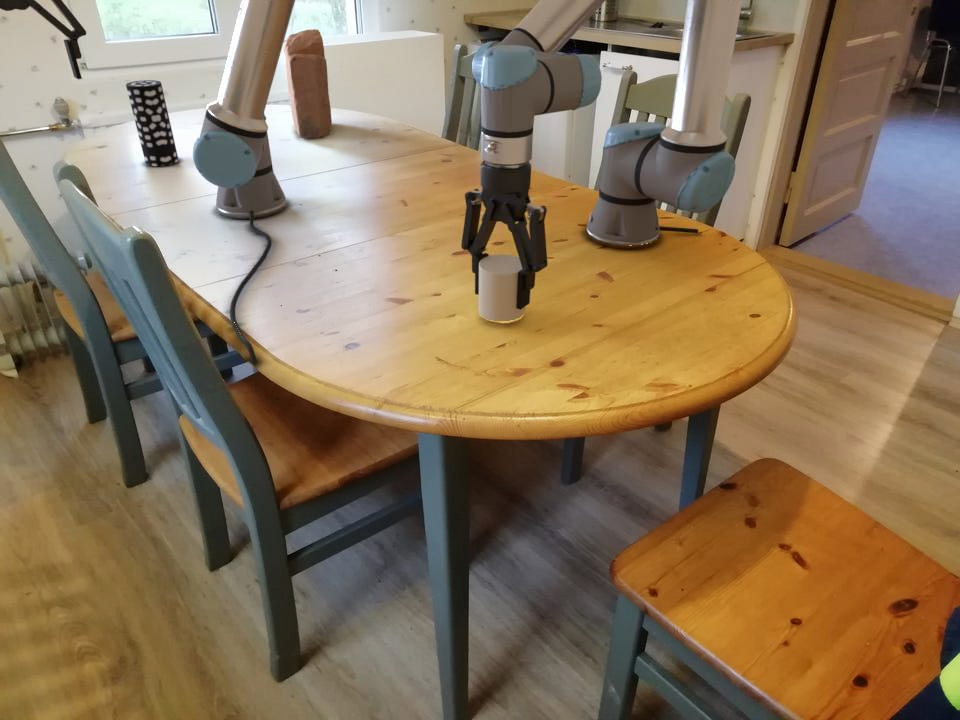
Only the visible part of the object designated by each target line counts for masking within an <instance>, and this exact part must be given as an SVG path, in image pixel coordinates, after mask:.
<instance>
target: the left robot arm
mask: <svg viewBox="0 0 960 720" xmlns="http://www.w3.org/2000/svg"><path fill="white" fill-rule="evenodd" d="M50 1H51V3H53V5H54V6H55V8H57V10H58V11H59V12H60V14H61V15H62V16H63V17H64V19H65V20H66V21H67V23H69V25H70V26H71V27H72V29H73V30H71V29H70V28H69V27H67V26H66V25H65V24H63V23H62V22H61V21H60V20H59V19H58V18H56V17H55V16H54V15H53V14H52V13H51V12H50V11H48V10H47V9H46V8H44V7H43V5H42V4H40V3H39V2H38V1H37V0H0V10H2V11H5V12H11V11H14V10H19V11H26V10H27V9H29V8H31V9H32V10H33V11H35V12H36V13H37V14H39V15H40V16H41V17H42V18H43V19H45V20H46V21H47V22H48V23H49V24H50V25H52V26H53V27H54V28H55V29H57V30H58V31H59V32H60V33H62V34H63V35H64V36H65V37H66V39H63V43H64V47H65V50H66V54H67V57H68V60H69V64H70V67H71V71H72V74H73V77H74V78H75V79H77V80H82V78H83V76H82V74H81V70H80V67H79V63H78V59H82V57H83V56H82V51H81V49H80V46H79V42H78V40H79V39H80V38H81V37H84V36H87V29H85V27H84V26H83V25H82V24H81V23H80V21H79V20H78V19H77V17H75V15H74V14H73V13H72V11H71V10H70V8H68V6H67V5H66V4H65V3H64V1H63V0H50ZM295 3H296V0H241V3H240V7H239V12H238V15H237V19H236V24H235V28H234V32H233V35H232V41H231V44H230V49H229V51H228V57H227V61H226V64H225V69H224V73H223V76H222V81H221V84H220V88H219V92H218V97H217V100H215V101H213V102H210V103H209V104H207V105H206V109H205V114H204V117H203V122H202V125H201V130H200V134H199V137H197V139H196V140H195V141H194V144H193V148H192V159H193V163H194V167H195V168H196V169H197V171H198V172H199V174H200V175H201V176H202V178H204V179H205V181H207V182H208V183H210V184H211V185H214V186H216V187H217V193H216V201H215V203H216V204H215V206H216V210H217V213H218V214H219V215H221V216H223V217H225V218H229V219H236V220H249V227H250V229H251V230H252V231H253V232H254V233H255V234H257V235H260V236H262V237H263V238H265V239H266V242H267V243H266V246H265V249H264V251H263V253H262V255H261V256H260V258H259V259H258V260H257V262H256V263H255V264H254V266H253V267H252V268H251V269H250V271H249V272H248V273H247V275H246V276H245V277H244V279H242V281H241V282H240V283H239V285H238V287H237V289H236V291H235V292H234V295H233V297H232V299H231V301H230V302H231V303H230V306H229V317H230V322H231V325H232V327H233V330H234V332H235V333H236V335H237V337H238V340H239V341H240V342H241V343H242V344H243V345H244V346H245V348H246V350H247V352H248V354H249V358H250V361H251V364H252V365H257V364H258V360H257V357H256V353H255V350H254V348H253V345H252V344H251V342H250V341H249V340H248V338H246V336H245V335H244V334H243V331H242V329H241V327H240V326H239V324H238V321H237V318H236V306H237V302H238V299H239V298H240V295H241V293H242V291H243V290H244V288H245V286H246V285H247V283H249V281H250V280H251V278H252V277H253V276H254V274H255V273H256V272H257V271H258V270H259V268H260V267H261V265H262V264H263V263H264V261H265V260H266V258H267V256H268V254H269V252H270V250H271V248H272V245H273V243H272V242H273V241H272V239H271V236H270V235H269V234H268V233H266V232H264V231H262V230H260V229H258V228H257V227H256V226H255V225H254V222H255V219H260V218H261V219H262V218H265V217H266V218H267V217H270V216H274V215H276V214H278V213H280V212H282V211H283V210H285V209H286V207H287V199H286V194H285V193H284V191H283V189H282V187H281V184H280V182H279V180H278V179H277V177H276V175H275V172H274V167H273V160H272V154H271V148H270V140H269V135H268V131H269V130H268V129H269V126H268V124H267V122H266V120H267V116H266V113H265V110H266V107H267V103H268V100H269V96H270V93H271V89H272V85H273V81H274V79H275V74H276V71H277V67H278V64H279V60H280V56H281V54H282V50H283V47H284V43H285V39H286V35H287V32H288V27H289V24H290V21H291V17H292V13H293V10H294V6H295ZM234 322H235V323H234ZM235 324H236V325H235ZM236 326H237V327H236ZM237 328H238V329H237ZM238 330H239V331H238ZM239 332H240V333H241V334H240V333H239Z"/></svg>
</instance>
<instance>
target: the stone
mask: <svg viewBox="0 0 960 720" xmlns="http://www.w3.org/2000/svg"><path fill="white" fill-rule="evenodd" d="M321 34H322V33H321V32H320V30H319V29H315V28H314V29H313V28H312V29H305V30H300V31H299V32H297V33H292V34H289V35H288V37H287V39H286V40H285V41H284V43H283V47H282V50H283V53H284V56H285V70H286V71H285V72H286V82H287V90H288V96H289V100H290V111H291V116H292V121H293V124H294V127H295V130H296V133H297V135H298V136H299V138H300V139H313V138H321V137H324V136H327V135H329V134H331V132H332V123H333V119H332V109H331V102H330V95H329V78H328V77H329V76H328V65H327V64H328V63H327V59H326V56H325V47H324V46H325V45H324V40H323V36H322V35H321Z"/></svg>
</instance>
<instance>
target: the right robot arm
mask: <svg viewBox="0 0 960 720" xmlns="http://www.w3.org/2000/svg"><path fill="white" fill-rule="evenodd" d="M605 2H606V0H539V1H538V2H537V4H535V5H534V7H532V9H531V10H530V11H529V12H528V13H527V14H526V15H525V16H524V18H522V19H521V21H519V23H518V24H517V25H516V26H515V27H514V28H513V29H512V30H511V31H510V32H509V33H508V34H507V35H506V36H505V37H504V38H503V39H502V40H501V41H500V40H493V41H487V42H485V43H483V44H481V45H479V47H478V48H477V50H476V51H475V53H474V56H473V59H472V62H471V63H472V65H471V69H472V71H471V72H472V75H473V78H474V80H475V82H476V83H477V84H478V86H479V87H480V92H481V93H480V106H481V109H480V115H481V118H480V119H481V121H480V125H481V127H480V129H481V131H480V158H481V159H482V160H483V161H482V162H481V163H480V186H481V190H480V189H478V188H474V189H472V190H470V191H469V190H468V191H467V192H466V193H464V200H465V206H466V208H465V215H464V221H463V230H462V236H461V245H460V247H461V250H463V251H467V252H469V254H470V256H471V272H472V274H474V294H475V295H476V296H479V262H480V261H481V260H482V259H483V258H485V257H487V256H490V254H489V253H487V252H485V251H487V250H488V249H487V246H488V243H489V241H490V239H491V236H492V234H493V232H494V229H495V227H496V225H497V222H501V223H502V224H504V225H506V226H507V230H508V232H510V233H511V235H512V239H513V242H514V246H515V248H516V252H517V255H518V256H517V257H519V259H520V262H521V266H522V270H520V271H519V272H518V288H517V309H520V310H521V309H522V308H524V307H525V308H526V307H527V306H529V305H530V304H531V303H530V302H531V290H532V289H534V288H535V286H536V273H539V272H541V271H542V270H544V269H546V268H547V267H548V254H547V253H548V252H547V250H548V249H547V240H546V239H547V237H546V227H545V226H546V224H545V220H546V217H547V212H548V209H547V207H546V205H540V206H538V205H536V204H534V203H532V202H531V201H532V200H531V199H530V196H529V195H530V194H529V191H530V187H531V177H532V164H531V162H530V161H532V159H533V142H534V141H533V140H534V139H533V138H534V124H535V117H536V116H541V115H548V114H553V113H559V112H560V113H561V112H566V111H576V110H578V109H581V108H584V107H585V108H586V107H587V106H590V105H592V104H593V103H594V102H595V101H596V100H597V98H598V97H599V95H600V92H601V90H602V89H601V88H602V80H603V78H602V77H603V76H602V71H601V68H600V66H599V64H598V62H597V60H596V59H595V57H594V58H593V56H591V55H589V54H586V53H582V54H581V53H580V54H577V53H571V54H567V55H560V54H557V53H558V52H559V51H560V50H561V49H562V48H563V47H564V46H565V45H566V44H567V43H568V41H570V39H571V38H573V36H574V35H575V34H576V33H577V32H578V31H579V30H580V29H581V28H582V26H583V25H584V24H585V23H587V21H588V20H589V19H590V18H591V17H592V16H593V14H595V13H596V11H598V9H599V8H600V7H601V6H602V5H603V4H604V3H605ZM742 4H743V0H687V2H686V8H685V9H686V10H685V18H684V24H683V31H682V38H681V46H680V53H679V60H678V67H677V75H676V82H675V88H674V95H673V96H674V97H673V104H672V110H671V117H670V123H669V125H667V126H666V124H665V123H661V122H656V121H633V122H623V123H619V124H615V125H612V126H610V127H609V128H608V129H607V131H606V133H605V138H604V143H603V146H602V155H601V156H602V157H601V167H600V178H599V189H598V190H599V191H598V198H597V199H596V200H597V201H596V203H595V205H594V207H593V209H592V211H591V212H590V213H589V215H588V218H589V219H588V221H587V224H586V231H585V234H586V236H587V238H588V239H590V240H591V241H592V242H594V243H596V244H598V245H601V246H605V247H608V248H614V249H621V250H638V249H645V248H648V247H651V246H654V245H655V244H656V243H658V241H659V240H660V235H661V234H660V233H661V232H676V233H687V234H698V233H699V229H698V228H690V227H689V228H688V227H676V226H675V227H674V226H661V225H660V222H659V216H658V210H657V205H656V201H658V202H661V203H664V204H666V205H669V206H671V207H674V208H676V209H677V210H679V211H686V212H689V213H693V214H702V213H706V212H707V211H709V210H711V209H713V208H714V207H715V206H717V204H718V203H720V201H721V200H722V199H723V198H724V197H725V195H726V194H727V192H728V190H729V188H730V187H731V185H732V183H733V180H734V178H735V173H736V161H735V158H734V156H733V155H731V154H730V152H727V151H725V150H726V145H727V140H728V137H727V134H726V133H725V132H724V131H723V130H722V127H721V123H722V117H723V113H724V108H725V107H724V106H725V100H726V95H727V91H728V90H727V88H728V84H729V78H730V72H731V68H732V61H733V55H734V50H735V43H736V40H737V39H736V38H737V33H738V27H739V22H740V16H741V10H742ZM482 204H483V206H484V208H485V210H484V213H483V214H482V217H481V212H482ZM526 213H527V217H526ZM480 219H481V224H480ZM527 220H529V223H528V221H527ZM527 226H528V227H527ZM656 239H657V240H656ZM650 242H651V243H650ZM646 243H648V244H646ZM641 244H643V245H641ZM629 245H632V246H629Z"/></svg>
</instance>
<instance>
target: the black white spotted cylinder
mask: <svg viewBox="0 0 960 720" xmlns="http://www.w3.org/2000/svg"><path fill="white" fill-rule="evenodd" d="M125 87H126V91H127V95H128V99H129V103H130V107H131V110H132V115H133V118H134V122H135V123H134V124H135V127H136V130H137V134H138V139H139V143H140V146H141V150H142V155H143V158H144V163H145V164H146V165H147V166H151V167H164V166H170V165H174V164H176V163H178V162H179V155H178V150H177V146H176V142H175V137H174V133H173V128H172V125H171V121H170V116H169V111H168V107H167V103H166V98H165V93H164V89H163V84H162V81H161V80H155V79H154V80H153V79H151V80H150V79H145V80H144V79H141V80H134V81H130V82H129V81H128V82H127V83H126V84H125Z"/></svg>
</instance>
